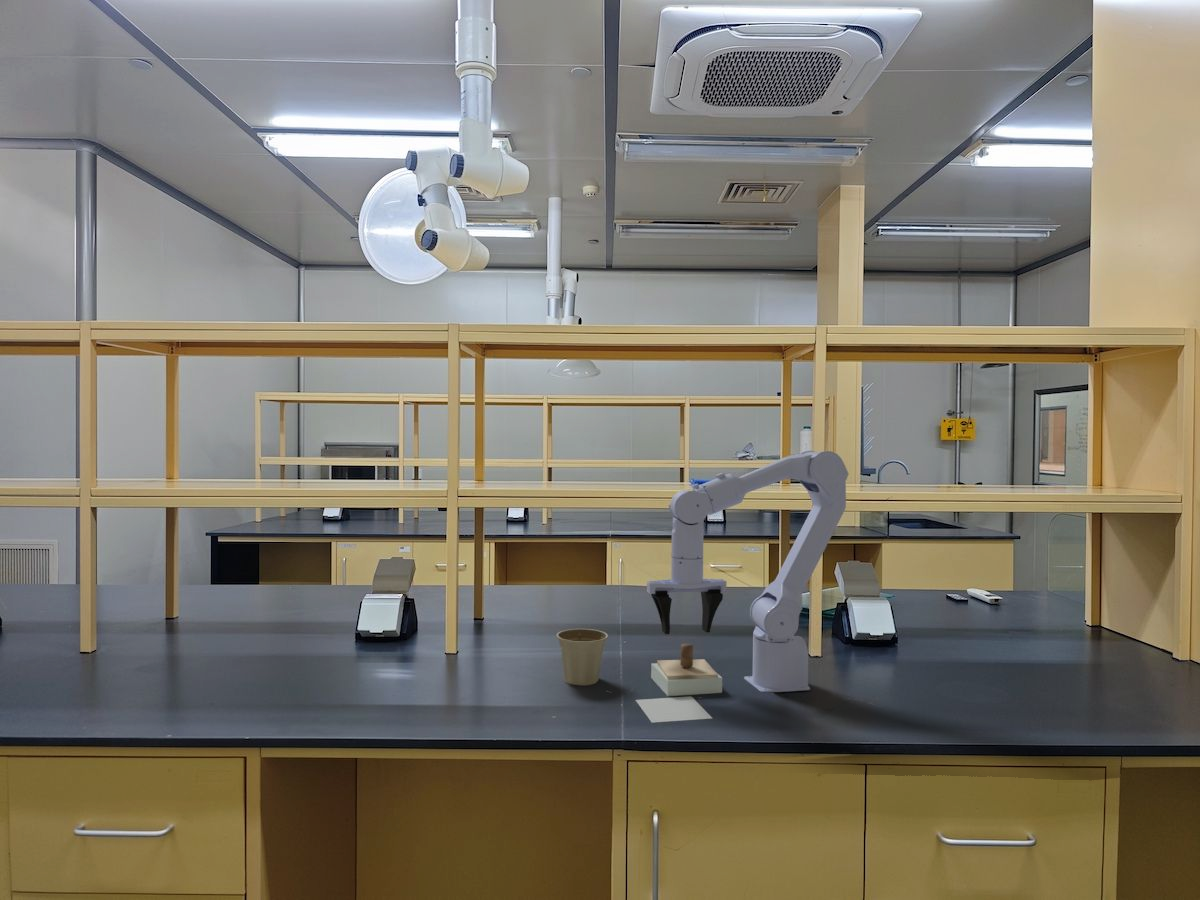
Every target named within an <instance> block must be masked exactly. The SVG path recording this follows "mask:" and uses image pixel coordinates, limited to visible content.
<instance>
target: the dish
mask: <svg viewBox="0 0 1200 900" xmlns="http://www.w3.org/2000/svg"><path fill="white" fill-rule="evenodd" d="M650 664H651V667H650V668H651V671H650V672H651V673H650V678H651V679H652V680H653V681H654V683H655V684H656V685H657V686H658V688H660V689H661V691H662V692H663V693H664V694H665V695H666V696H667V697H673V696H676V697H677V696H689V695H690V696H692V695H707V694H709V695H710V694H721V693H723V677H722V676H721V675H720V674H718V673H717V674H718V678H697V679H667V678H666V676H665V675H664V673H663V672H662V670H661V669H660V667H659V666H658V664H657V662H655V663H650Z"/></svg>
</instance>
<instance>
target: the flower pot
mask: <svg viewBox="0 0 1200 900" xmlns="http://www.w3.org/2000/svg"><path fill="white" fill-rule="evenodd" d="M556 638H557V639H558V643H559V646H560V649H561V650H560V651H561V660H562V670H563V680H564V682H565V683H567V684H569V685H574V686H575V685H576V686H590V685H594V684H596V683H598V681H599V678H600V670H601V663H602V657H603V652H604V647H605V646H606V640H608V638H609V635H608V633H606V632H605V631H602V630H598V629H591V628H571V629H565V630H561V631H558V632H557V633H556Z"/></svg>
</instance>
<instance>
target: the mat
mask: <svg viewBox="0 0 1200 900" xmlns="http://www.w3.org/2000/svg"><path fill="white" fill-rule="evenodd" d="M635 702H636V703H637V705H639V707H640V708H641V711H642V712H643V713H644V714H645V715H646V717H647V718H648V719H649V721H650V722H651V724H654V723H669V722H670V723H671V722H680V721H681V722H682V721H683V722H684V721H697V720H711V719H713V717H712V716H711V715H710V714H709V713H708V712H707V710H705V708H703V707H702V706H701V705H700V704H699V703H698V701H696V699H695V698H694V697H692V695H690V696H679V697H677V696H676V697H660V698H647V699H646V698H645V699H635Z"/></svg>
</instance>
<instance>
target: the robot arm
mask: <svg viewBox="0 0 1200 900" xmlns="http://www.w3.org/2000/svg"><path fill="white" fill-rule="evenodd" d="M715 476H716V478H715V479H712V480H708V481H707V482H703V483H702V484H699V483H694V484H692V486H691V488H692V490H687V489H684V490H683V489H682V490H679V491H677V492H676V493H675V494H674V495H673V496H672V498H671V500H670V503H669V504H668V509H669V512H670V514H671V516H672V530H671V554H670V555H671V571H670V575H671V576H670V577H671V578H668V579H661V580H660V579H658V580H648V581H646V592H647V593H648V594H649V595H651V598H652V599H653V602H654V605H655V608H656V609H657V612H658V615H659V619H660V624H661V630H662V633H664V635H670V631H671V622H670V621H671V618H670V616H671V607H672V601H673V599H672V598H671V597H670V594H668V593H694V592H695V593H696V592H697V593H698V592H700V595H701V604H702V607H701V608H702V609H701V610H702V617H701V622H702V623H701V625H702V627H701V628H702V631H704V632H705V633H710V632H711V628H712V624H713V621H714V617H715V614H716V612H717V610H718V608H719V606H720V604H721V602H722V601H723V599H724V594H723V593H725V592H727V580H726V579H725V580H724V579H723V578H720V579H719V578H718V579H717V578H716V579H714V578H704V536H705V535H704V520H705V519H706V517H707V516H708V515H709V516H711V515H714V514H717V513H719V512H721V511H723V510H727V509H728V508H731V507H733V506H736V505H740V504H741V503H742V502H743V500H744V498H745V496H746V495H747V494H749V493H751V492H753V491H756V490H759V489H762V488H765V487H768V486H771V485H773V484H777V483H779V482H782V481H784V480H796V481H798V482H799V483H800V484H801V485H802V486H803V487H804V488H805V489H806V490H807V494H808V496H809V498H810V501H811V503H812V507H811V509H810V512H809V514H808V515H807V517H806V519H805V521H804V523H803V525H802V527H801V529H800V531H799V533H798V535H797V537H796V538H795V541H794V542H793V545H792V546H791V548H790V550H789V552H788V554H787V556H786V558H785V560H784V562H783V564H782V566H781V568H780V569H779V572H778V574H777V575H776V578H775V579H774V581H772V582H771V583H769V584H768V585H767V586H765V588H764V590H763V592H762V593H761V594H760V596H757V598H755V599H754V600H753V602H752V603H751V604H750V609H749V617H750V620H751V621H752V623H753V624H754V625H755V627H754V630H753V632H752V675H748V676H747V675H746V676H744V677H743V679H744V680H745V681H746V682H747V683H749V684H750V685H752V686H753V687H754V688H755V689H756V690H758V691H760V693H782V692H783V693H784V692H785V693H786V692H787V693H788V692H798V691H799V692H801V691H811V686H809V650H808V646H807V643H806V641H805V639H804V638H803V637H802V636H800V635H796V633H797V632H798V630H799V629H798V628H799V624H800V623H799V622H800V621H799V618H800V614H801V612H802V610H803V607H804V606H803V594H804V593H803V592H804V591H805V589H806V587H807V585H808V584H809V581H810V579H811V577H812V576H813V573H814V571H815V569H816V568H817V565H818V563H819V561H820V559H821V558H822V555H823V553H824V552H825V550H826V548H827V547H828V546H827V545H828V544H829V543H830V540H831V538H832V536H833V534H834V532H835V531H836V528H837V526H838V524H839V523H840V521H841V518H842V516H844V513H845V510H846V508H847V494H846V493H847V492H846V491H847V489H846V488H847V487H846V485H847V483H846V481H847V479H848V477H849V472H848V469H847V467H846V465H845V462H844V460H843V459H842V457H841V456H840V455H839V454H838V453H836V452H834V451H831V450H830V451H829V450H824V451H814V450H804V451H802V452H801V453H796V454H791V455H788V456H784V457H781V458H779V459H778V460H775V461H773V462H770V463H768V464H766V465H764V466H761V467H759V468H757V469H755V470H751V471H749V472H747V473H745V474H743V475H741V476H736V475H734V474H733V473H726V474H725V473H724V472H720V473H718V474H715Z"/></svg>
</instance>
